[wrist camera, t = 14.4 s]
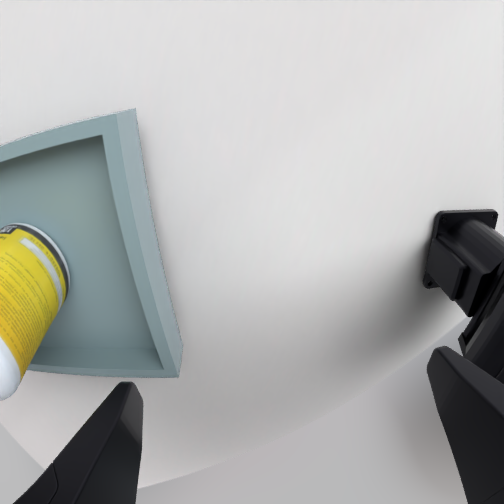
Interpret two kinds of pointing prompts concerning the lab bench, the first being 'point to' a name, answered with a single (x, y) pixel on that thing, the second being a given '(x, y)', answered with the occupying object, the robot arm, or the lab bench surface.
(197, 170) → the lab bench surface
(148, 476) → the lab bench surface
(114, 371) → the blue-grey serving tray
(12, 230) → the pill bottle
